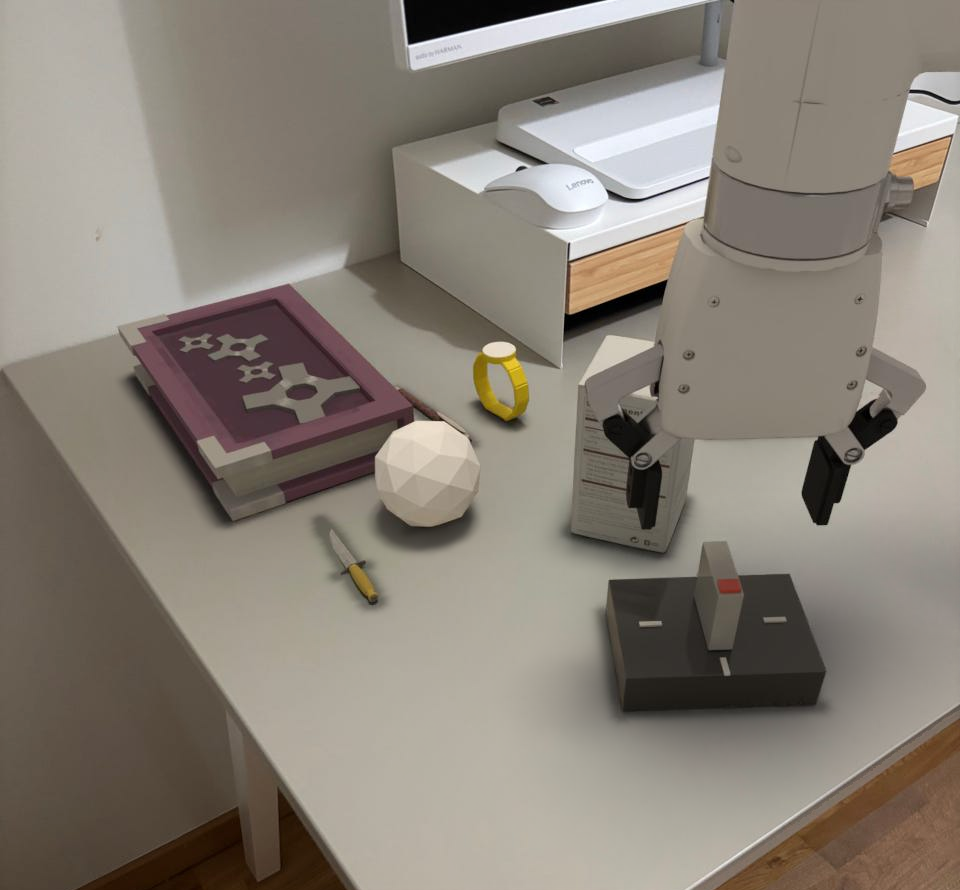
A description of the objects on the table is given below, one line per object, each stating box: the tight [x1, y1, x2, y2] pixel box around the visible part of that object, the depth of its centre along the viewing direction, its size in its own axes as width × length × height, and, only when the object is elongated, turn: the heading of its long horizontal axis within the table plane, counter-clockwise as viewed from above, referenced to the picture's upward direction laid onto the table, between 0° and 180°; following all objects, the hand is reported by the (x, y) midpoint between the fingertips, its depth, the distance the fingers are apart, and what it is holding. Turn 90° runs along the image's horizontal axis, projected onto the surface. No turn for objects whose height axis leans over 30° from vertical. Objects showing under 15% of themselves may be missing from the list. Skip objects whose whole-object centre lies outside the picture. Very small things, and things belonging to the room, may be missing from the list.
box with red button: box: [694, 540, 744, 650], centre depth 62 cm, size 5×2×5 cm, turn 2°
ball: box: [374, 420, 481, 528], centre depth 75 cm, size 8×8×8 cm
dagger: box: [329, 528, 379, 603], centre depth 74 cm, size 11×1×2 cm
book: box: [116, 283, 415, 522], centre depth 86 cm, size 25×16×5 cm, turn 30°
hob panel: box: [605, 572, 827, 712], centre depth 65 cm, size 12×9×3 cm
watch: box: [472, 341, 530, 422], centre depth 85 cm, size 6×3×6 cm, turn 38°
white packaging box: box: [570, 334, 696, 554], centre depth 72 cm, size 7×7×13 cm
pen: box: [394, 386, 473, 443], centre depth 87 cm, size 11×1×1 cm, turn 38°
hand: (728, 512), depth 58 cm, fingers open, 9 cm apart
